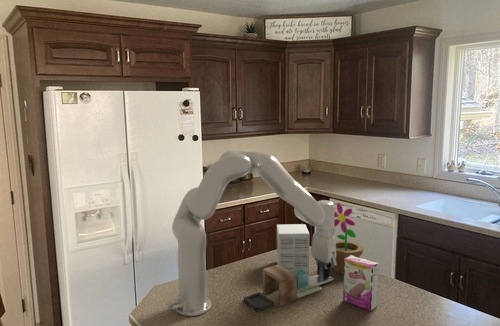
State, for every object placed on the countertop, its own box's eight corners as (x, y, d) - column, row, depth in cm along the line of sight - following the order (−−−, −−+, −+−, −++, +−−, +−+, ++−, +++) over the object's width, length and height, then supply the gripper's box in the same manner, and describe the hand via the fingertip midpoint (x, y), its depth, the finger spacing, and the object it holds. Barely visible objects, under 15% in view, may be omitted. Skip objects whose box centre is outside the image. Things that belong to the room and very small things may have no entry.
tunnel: (281, 305, 143) (281, 279, 141) (263, 292, 152) (262, 268, 151) (296, 299, 147) (296, 274, 145) (277, 287, 156) (277, 264, 154)
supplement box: (276, 261, 182) (276, 224, 180) (305, 260, 182) (305, 223, 179) (278, 273, 169) (278, 233, 166) (309, 273, 169) (309, 233, 166)
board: (298, 297, 148) (298, 296, 148) (281, 287, 156) (281, 286, 156) (322, 289, 154) (322, 288, 154) (305, 279, 163) (305, 278, 163)
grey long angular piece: (296, 293, 150) (296, 272, 149) (286, 287, 155) (286, 267, 154) (333, 280, 160) (333, 261, 159) (322, 274, 165) (323, 256, 164)
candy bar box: (342, 301, 145) (343, 258, 142) (349, 296, 148) (350, 254, 146) (371, 312, 137) (372, 266, 135) (377, 306, 141) (379, 262, 138)
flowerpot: (321, 269, 172) (322, 202, 168) (339, 259, 182) (340, 195, 178) (351, 279, 162) (353, 207, 158) (368, 268, 173) (370, 201, 168)
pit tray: (257, 311, 139) (257, 307, 138) (243, 301, 146) (243, 297, 146) (273, 305, 142) (273, 301, 142) (259, 295, 150) (259, 292, 150)
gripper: (303, 228, 163) (303, 271, 166) (332, 239, 150) (331, 285, 152) (317, 225, 167) (316, 266, 170) (346, 235, 154) (345, 280, 156)
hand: (323, 275), depth 161 cm, fingers closed on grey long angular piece, 2 cm apart
